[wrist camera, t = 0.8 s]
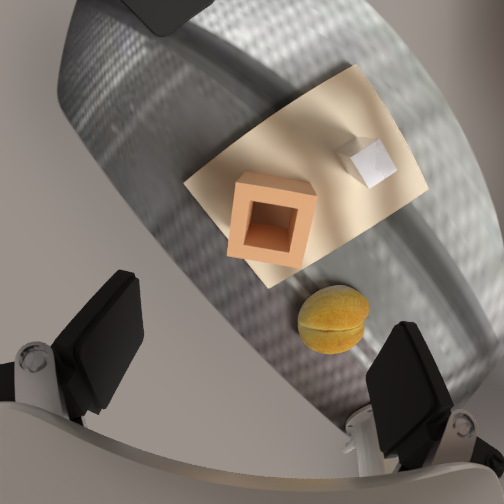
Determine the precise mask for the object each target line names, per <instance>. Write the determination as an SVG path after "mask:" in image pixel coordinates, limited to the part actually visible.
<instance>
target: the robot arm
mask: <svg viewBox="0 0 504 504" xmlns="http://www.w3.org/2000/svg"><path fill="white" fill-rule="evenodd" d="M143 338H144V329H143V320H142V310H141V298H140V286H139V279H138V278H136V277H135V274H134V273H132V272H128V271H124V270H118V271H117V272H116V273H115V274H114V275H113V276H112V277H111V278H110V279H109V280H108V281H107V282H106V283H105V284H104V285H103V286H102V287H101V288H100V289H99V291H98V292H97V293H96V294H95V295H94V296H93V297H92V298H91V299H90V300H89V301H88V302H87V303H86V305H85V306H84V307H83V308H82V309H81V311H79V313H78V314H77V315H76V316H75V317H74V318H73V319H72V320H71V322H70V323H69V324H68V325H67V326H66V328H65V329H64V330H63V331H62V332H61V333H60V335H59V336H58V337H57V338H56V339H55V341H54V343H53V344H52V345H51V346H49V345H47V344H46V343H43V342H39V341H38V342H30V343H27V344H26V345H24V346H23V347H21V348H20V349H19V351H18V352H17V354H16V357H15V361H14V362H10V363H5V364H0V504H504V457H503V456H502V454H501V453H500V452H499V451H498V450H497V449H495V448H494V447H492V446H491V445H489V444H488V443H486V442H485V441H483V440H482V439H480V438H479V437H477V433H478V427H477V423H476V420H475V418H474V417H473V416H472V415H471V414H470V413H469V412H467V411H465V410H460V409H459V410H455V411H454V412H453V413H451V411H450V409H451V408H452V407H453V406H454V404H453V402H452V399H451V397H450V394H449V392H448V390H447V387H446V385H445V383H444V380H443V378H442V376H441V374H440V371H439V369H438V367H437V365H436V363H435V361H434V359H433V356H432V354H431V352H430V350H429V348H428V346H427V344H426V342H425V340H424V338H423V336H422V334H421V332H420V330H419V329H418V327H417V325H416V324H415V323H414V322H406V321H401V322H399V324H397V325H395V326H394V328H393V329H392V331H391V333H390V335H389V337H388V338H387V340H386V342H385V344H384V345H383V347H382V349H381V351H380V352H379V354H378V356H377V357H376V359H375V360H374V362H373V364H372V365H371V367H370V368H369V370H368V372H367V374H366V383H367V388H368V392H369V397H370V401H371V404H369V405H367V406H365V407H363V408H361V409H359V410H357V411H356V412H354V413H353V414H352V415H351V416H350V417H349V418H348V419H347V421H346V431H347V432H348V433H349V434H350V435H352V438H351V440H350V442H348V443H346V444H345V445H343V446H342V447H341V450H342V452H343V453H348V452H349V451H351V450H352V449H353V448H356V450H357V455H358V463H359V474H360V477H356V478H340V479H339V478H338V479H292V478H276V477H264V476H254V475H247V474H240V473H233V472H227V471H221V470H216V469H211V468H206V467H201V466H197V465H192V464H188V463H184V462H180V461H176V460H172V459H169V458H166V457H162V456H159V455H156V454H152V453H149V452H146V451H143V450H141V449H137V448H134V447H132V446H129V445H127V444H124V443H121V442H119V441H116V440H114V439H111V438H108V437H106V436H104V435H101V434H99V433H97V432H94V431H92V430H90V429H88V428H87V425H86V422H85V418H84V415H85V414H86V412H87V410H89V411H91V412H93V413H95V414H98V415H99V413H100V411H101V409H106V407H107V406H108V404H109V403H110V401H111V399H112V397H113V395H114V393H115V391H116V389H117V387H118V385H119V383H120V382H121V380H122V378H123V376H124V374H125V372H126V371H127V369H128V367H129V365H130V363H131V361H132V359H133V358H134V356H135V354H136V352H137V351H138V349H139V347H140V345H141V344H142V341H143Z"/></svg>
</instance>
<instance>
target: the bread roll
mask: <svg viewBox="0 0 504 504" xmlns="http://www.w3.org/2000/svg"><path fill="white" fill-rule="evenodd" d="M368 313H369V303H368V301H367V299H366V298H365V297H364V296H363V295H362V294H361V293H359V292H358V291H357V290H355V289H353V288H351V287H348V286H345V285H334V286H329V287H326V288H323V289H321V290H319V291H317V292H315V293H314V294H312V295H311V296H310V297H309V298H307V300H306V301H305V302H304V303H303V305H302V307H301V309H300V311H299V314H298V331H299V334H300V337H301V339H302V341H303V342H304V344H305V345H306V346H308V347H309V348H310V349H312V350H314V351H316V352H320V353H324V354H336V353H341V352H344V351H347V350H349V349H351V348H352V347H353V346H355V345H356V344H357V343H358V342H359V341H360V339H361V338H362V336H363V333H364V320H365V319H366V317H367V316H368Z"/></svg>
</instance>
